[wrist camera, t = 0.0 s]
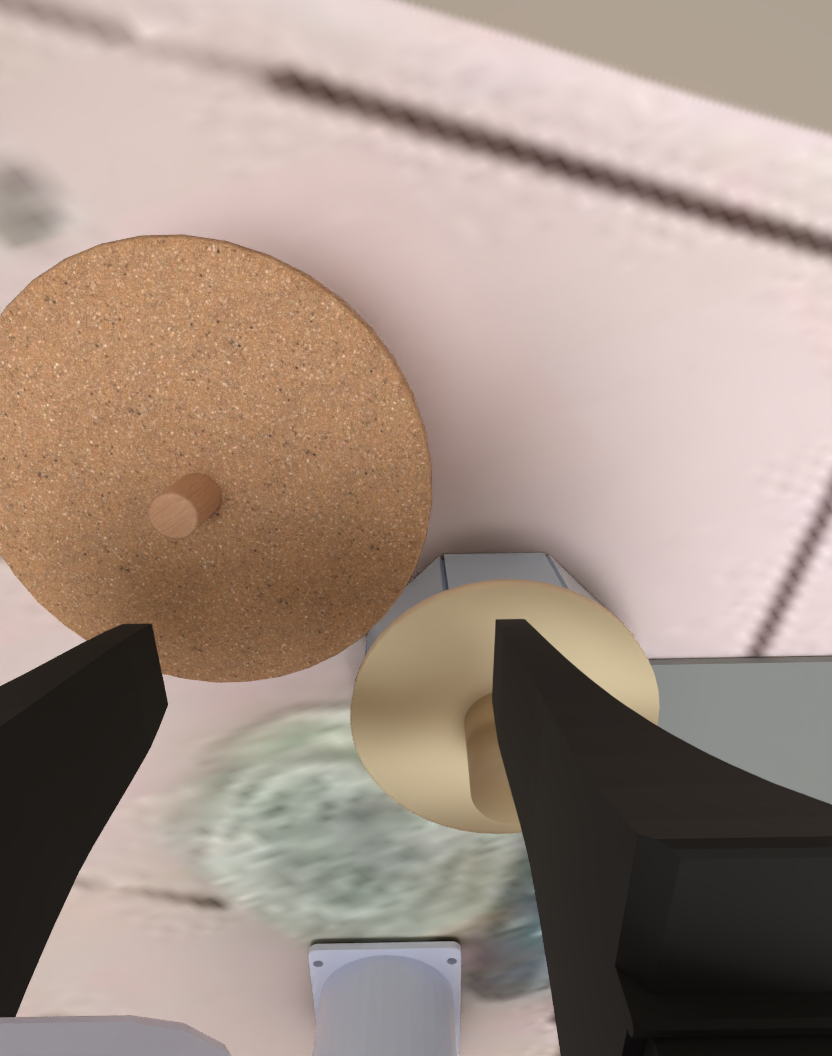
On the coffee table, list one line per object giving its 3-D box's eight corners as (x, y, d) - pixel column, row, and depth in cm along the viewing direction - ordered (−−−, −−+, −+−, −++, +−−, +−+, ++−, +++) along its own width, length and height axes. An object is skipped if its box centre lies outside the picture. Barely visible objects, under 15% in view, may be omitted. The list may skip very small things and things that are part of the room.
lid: (632, 821, 23) (667, 910, 20) (360, 820, 23) (349, 908, 20) (675, 578, 19) (730, 639, 15) (343, 579, 19) (325, 640, 16)
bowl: (596, 754, 26) (621, 812, 23) (375, 758, 26) (371, 817, 23) (621, 551, 22) (654, 588, 19) (365, 555, 22) (358, 593, 19)
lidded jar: (57, 382, 20) (-226, 438, 11) (306, 191, 18) (203, 73, 9) (251, 611, 23) (153, 795, 14) (480, 471, 21) (530, 586, 12)
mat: (843, 860, 28) (849, 868, 28) (602, 865, 28) (605, 872, 28) (915, 654, 24) (923, 660, 24) (631, 659, 24) (635, 665, 24)
